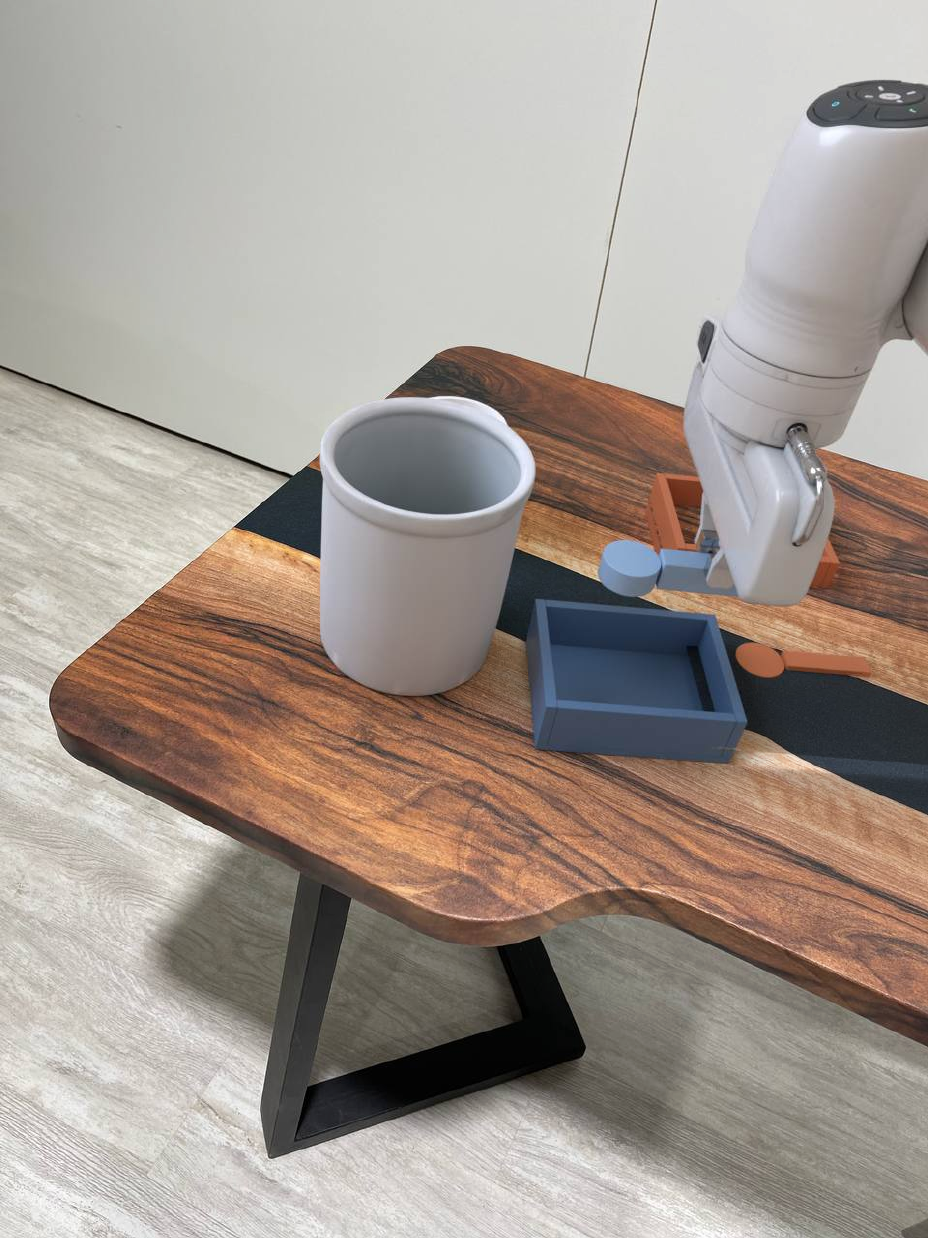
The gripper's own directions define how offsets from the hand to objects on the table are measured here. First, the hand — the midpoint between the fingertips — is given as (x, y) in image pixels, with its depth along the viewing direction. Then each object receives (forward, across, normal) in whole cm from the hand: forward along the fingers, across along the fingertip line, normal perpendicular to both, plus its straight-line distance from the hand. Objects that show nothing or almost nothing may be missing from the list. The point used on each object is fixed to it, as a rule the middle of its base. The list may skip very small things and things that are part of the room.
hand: (711, 566), depth 69 cm
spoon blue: (+2, 0, +2) cm, 3 cm away
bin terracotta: (+14, +21, -10) cm, 27 cm away
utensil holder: (+15, +6, +20) cm, 25 cm away
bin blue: (+14, +1, +3) cm, 15 cm away
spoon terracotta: (+14, +5, -12) cm, 20 cm away
